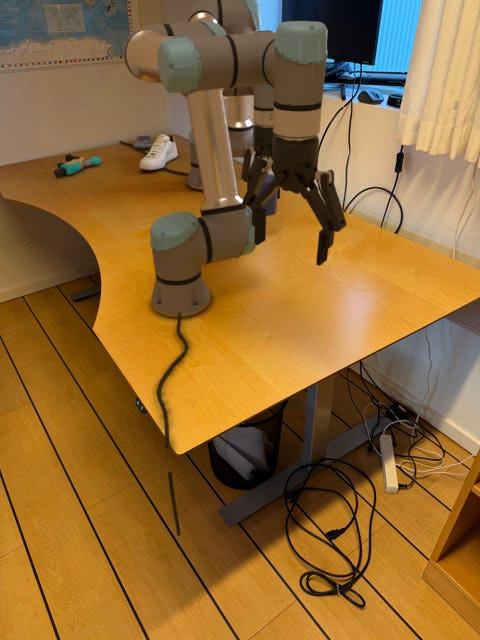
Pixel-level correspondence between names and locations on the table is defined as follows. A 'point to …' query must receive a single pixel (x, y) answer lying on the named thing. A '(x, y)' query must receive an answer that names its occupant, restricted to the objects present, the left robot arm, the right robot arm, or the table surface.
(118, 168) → the table surface
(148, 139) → the toy gun
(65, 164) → the toy gun
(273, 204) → the can
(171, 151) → the sneaker
